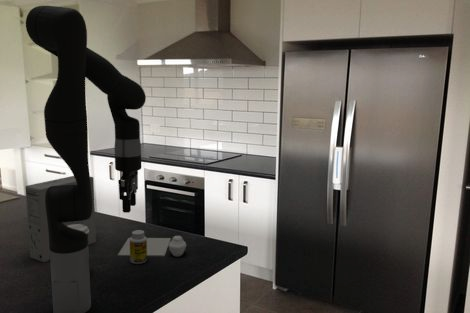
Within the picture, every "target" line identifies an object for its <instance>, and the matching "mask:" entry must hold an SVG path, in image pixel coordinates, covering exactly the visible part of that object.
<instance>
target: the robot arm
mask: <svg viewBox="0 0 470 313" xmlns="http://www.w3.org/2000/svg"><path fill="white" fill-rule="evenodd" d="M25 29H26V32H27V35H28V37H29V38H30V40H31V41H32V42H33V43H34V44H36V46H38V47H40V48H41V49H43V50H44V51H47V52H48V53H50V54H51V55H53V56H56V57H57V78H56V81H55V83H54V85H53V88H52V90H51V91H50V93H49V95H48V97H47V99H46V102H45V104H44V108H43V110H44V111H43V116H44V129H45V136H46V139H47V141H48V143H49V145H50V146H51V148H52V149H53V150H54V151H55V152H56V153H57V155H58V156H59V157H60V158H61V159H62V161H63V162H64V163H65V164H66V165H67V166H68V168H69V170H70V171H71V173H72V176H74V177H75V179H76V182H77V185H60V186H51V187H49V188H48V189H47V191H46V194H45V206H46V215H47V222H48V232H49V250H50V260H49V265H50V277H51V278H50V280H51V293H52V297H51V298H52V310H53V313H87V312H88V311H89V310H90V309H91V307H92V300H91V299H92V297H91V281H90V280H91V279H90V276H91V275H90V260H89V259H90V257H89V245H88V236H87V234H86V233H85V232H83V231H80V230H76V229H72V228H70V227H67V226H66V225H64V224H63V223H62V222H73V221H83V220H87V219H89V218H90V217H91V214H92V192H91V183H90V177H91V175H90V167H89V166H90V165H89V140H88V139H89V138H88V137H89V136H88V135H89V134H88V133H89V131H88V112H87V100H86V96H87V95H86V94H87V93H86V92H87V91H86V79H87V80H88V81H89V82H91V83H92V84H93V85H94V86H95V87H96V88H97V89H98V90H100V91H101V92H102V93H104V94H105V95H107V96H106V98H107V103H108V107H109V111H110V114H111V117H112V120H113V123H114V168H115V170H116V171H117V172H121V176H120V178H119V179H118V181H117V182H118V195H119V198H118V199H119V200H121V203H122V204H121V205H122V207H121V208H122V213H125V214H126V213H130V212H131V210H132V209H131V207H135V206H136V205H137V197H136V196H137V192H138V191H137V190H138V189H139V184H138V183H139V171H140V170H141V169H142V143H141V130H140V129H141V128H140V126H141V125H140V121H139V119H138V118H135V117H132V116H129V113H128V112H127V110H134V111H135V110H136V111H137V110H140V109H141V108H143V106H144V105H145V103H146V96H147V95H146V92H145V90H144V89H143V87H142V86H141V85H140V84H139V83H137V81H134V80H133V79H131V78H129V77H128V76H126V75H124V74H122V72H120V71H119V69H118V68H116V67H115V65H114V64H112V63H111V62H110V61H109V60H108V59H106V58H105V57H103V56H102V55H100V54H99V53H97V52H95V51H94V50H92V49H91V48H88V31H87V25H86V20H85V18H84V16H83V15H82V13H81V12H80V11H78V10H77V9H75V8H72V7H66V6H64V7H62V6H55V5H39V6H35V7H33V8H31V9H30V10H29V12H28V14H27V15H26V18H25Z"/></svg>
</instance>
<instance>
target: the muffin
mask: <svg viewBox="0 0 470 313" xmlns="http://www.w3.org/2000/svg"><path fill="white" fill-rule="evenodd" d="M186 247H187V243H186V241H184V239H183V236H181V235H175V236H172V238H171V240H170V243H169V245H168V248H169V251H170V252H171V254H172V256H173V257H176V258H177V257H181V256H183V255H184V252H185V250H186Z"/></svg>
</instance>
